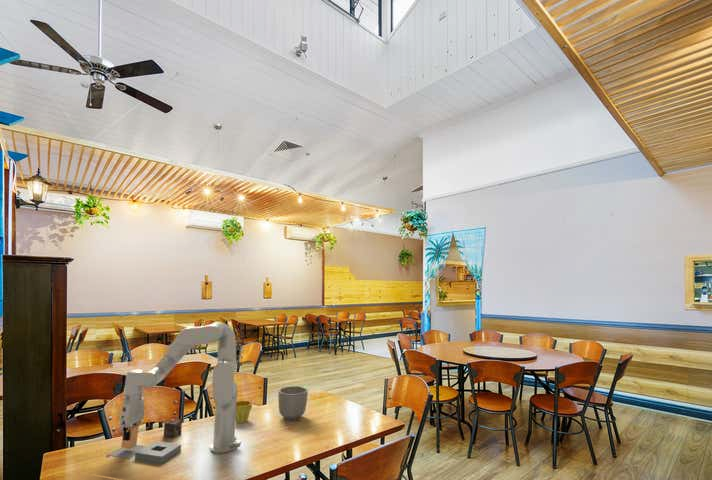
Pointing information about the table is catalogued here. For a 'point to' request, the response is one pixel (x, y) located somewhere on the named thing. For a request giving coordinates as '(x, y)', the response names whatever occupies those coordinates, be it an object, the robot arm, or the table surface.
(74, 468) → the table surface
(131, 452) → the mat
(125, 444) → the plug
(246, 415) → the plant pot
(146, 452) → the socket block
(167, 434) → the box
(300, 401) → the planter
